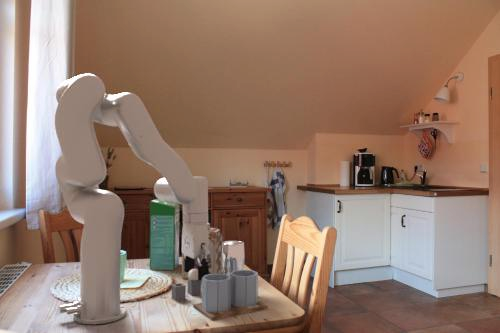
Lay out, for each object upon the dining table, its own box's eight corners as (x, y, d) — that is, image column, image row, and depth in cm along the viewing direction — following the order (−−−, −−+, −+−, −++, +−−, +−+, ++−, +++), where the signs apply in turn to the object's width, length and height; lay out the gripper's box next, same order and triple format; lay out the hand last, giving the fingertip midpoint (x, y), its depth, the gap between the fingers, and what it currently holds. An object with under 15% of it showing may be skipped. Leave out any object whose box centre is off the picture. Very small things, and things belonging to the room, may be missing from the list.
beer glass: (241, 296, 122) (241, 245, 122) (218, 295, 124) (218, 244, 124) (246, 290, 129) (246, 241, 129) (224, 288, 131) (224, 240, 131)
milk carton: (174, 269, 153) (175, 200, 152) (149, 269, 153) (150, 200, 153) (178, 264, 162) (179, 198, 161) (155, 263, 162) (156, 198, 162)
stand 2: (191, 295, 123) (191, 281, 123) (187, 292, 126) (187, 279, 126) (200, 293, 125) (201, 280, 125) (196, 291, 127) (196, 278, 127)
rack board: (211, 320, 104) (211, 315, 104) (193, 307, 113) (193, 303, 113) (267, 308, 113) (267, 304, 113) (245, 297, 122) (246, 293, 122)
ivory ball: (191, 283, 123) (191, 270, 123) (186, 280, 126) (186, 268, 126) (202, 281, 125) (202, 269, 125) (197, 278, 128) (197, 266, 128)
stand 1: (175, 301, 118) (175, 287, 118) (171, 298, 121) (171, 284, 121) (185, 299, 120) (185, 285, 120) (181, 296, 122) (181, 282, 122)
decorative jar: (215, 281, 139) (215, 226, 139) (181, 279, 141) (181, 225, 141) (223, 272, 151) (223, 221, 150) (191, 270, 152) (192, 220, 152)
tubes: (210, 314, 106) (210, 282, 106) (198, 306, 112) (198, 275, 112) (262, 304, 114) (262, 274, 114) (247, 296, 120) (248, 268, 120)
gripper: (172, 215, 131) (173, 270, 131) (196, 222, 116) (197, 284, 116) (194, 213, 135) (195, 267, 135) (220, 220, 120) (221, 280, 120)
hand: (196, 275), depth 126 cm, fingers open, 9 cm apart
